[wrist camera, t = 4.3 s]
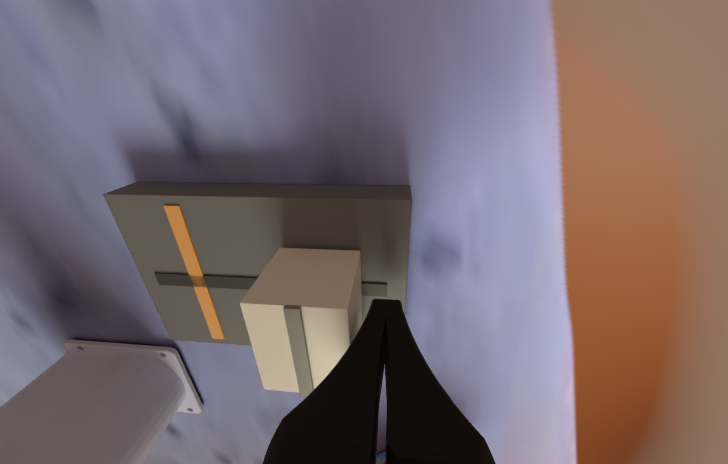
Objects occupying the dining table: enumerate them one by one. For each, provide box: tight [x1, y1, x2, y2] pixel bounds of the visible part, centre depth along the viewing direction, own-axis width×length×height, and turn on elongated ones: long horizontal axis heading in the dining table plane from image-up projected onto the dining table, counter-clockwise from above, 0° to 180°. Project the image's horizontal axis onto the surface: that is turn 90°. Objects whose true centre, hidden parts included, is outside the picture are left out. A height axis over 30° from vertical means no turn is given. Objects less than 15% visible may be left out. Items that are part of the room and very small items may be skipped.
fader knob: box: [240, 248, 362, 396], centre depth 13 cm, size 4×5×4 cm
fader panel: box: [103, 182, 412, 346], centre depth 16 cm, size 15×10×2 cm, turn 91°
